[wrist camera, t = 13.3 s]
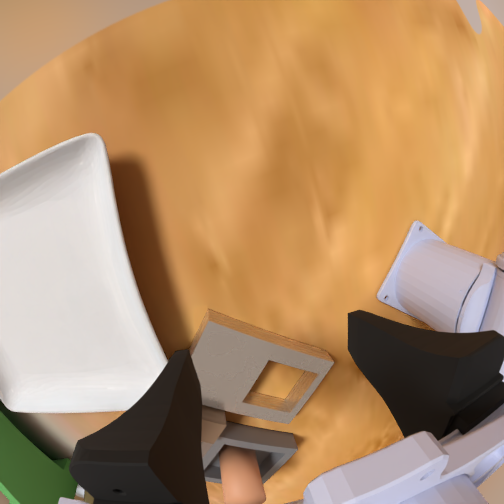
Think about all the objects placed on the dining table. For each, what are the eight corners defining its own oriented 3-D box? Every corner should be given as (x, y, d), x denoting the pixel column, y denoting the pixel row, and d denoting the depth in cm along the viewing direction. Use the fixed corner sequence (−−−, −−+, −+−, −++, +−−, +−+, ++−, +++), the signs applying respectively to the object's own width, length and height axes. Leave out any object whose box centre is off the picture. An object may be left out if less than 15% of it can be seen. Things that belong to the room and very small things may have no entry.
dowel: (259, 442, 27) (272, 493, 20) (247, 461, 27) (257, 508, 21) (224, 439, 26) (231, 492, 19) (214, 458, 27) (219, 507, 20)
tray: (292, 433, 28) (298, 449, 25) (255, 473, 29) (259, 487, 27) (216, 418, 25) (218, 436, 23) (187, 461, 27) (188, 477, 24)
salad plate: (116, 131, 18) (100, 123, 15) (188, 381, 24) (187, 407, 20) (-52, 213, 16) (-73, 219, 13) (20, 395, 22) (9, 413, 18)
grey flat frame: (326, 350, 25) (334, 362, 23) (284, 410, 26) (288, 423, 25) (208, 308, 22) (208, 320, 20) (174, 380, 24) (172, 395, 22)
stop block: (223, 399, 25) (226, 425, 22) (211, 418, 25) (213, 444, 22) (172, 383, 24) (170, 410, 20) (163, 404, 24) (160, 430, 21)
